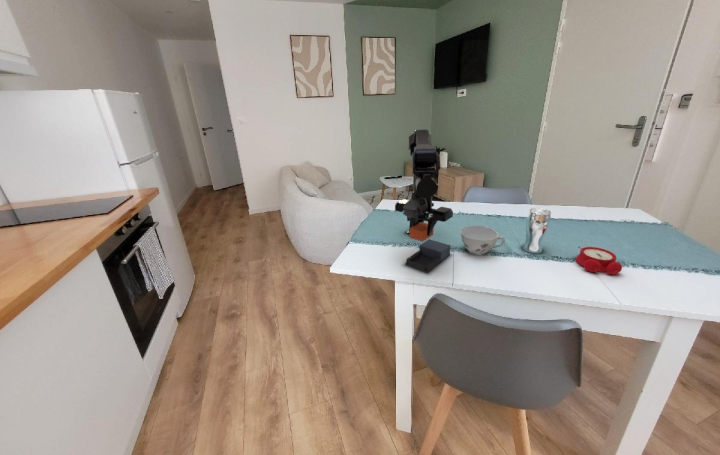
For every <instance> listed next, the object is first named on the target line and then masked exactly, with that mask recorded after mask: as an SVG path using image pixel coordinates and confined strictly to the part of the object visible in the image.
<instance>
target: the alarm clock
mask: <svg viewBox="0 0 720 455" xmlns="http://www.w3.org/2000/svg"><path fill="white" fill-rule="evenodd" d="M577 248H578V249H580V251H579V254H578V255H577V256H576V257H575V261H576V263H577V264H578V265H580V266H581V267H584V270H586V271H587V272H590V273H597V272H599V273H603V274H609V275H618V274H619V273H621V271H622V270H623V266H622V264H621V262H618V261H617V255H616V253H613V252H612V251H609V250H607V249H605V248H601V247H596V246H584V247H581V246H578V247H577Z"/></svg>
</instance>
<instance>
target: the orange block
mask: <svg viewBox="0 0 720 455" xmlns="http://www.w3.org/2000/svg"><path fill="white" fill-rule="evenodd" d="M427 228H428V222H427V223H426V222H424V223H423V222H420V223H419V224H417V225H415V226H413V227H411V228H410V234H409V239H412V240H416V241H419V242H422V243H424V242H425V241H427V240H428V239H430V238H431V237H432V236H433V235H434V229H435V227H434V228H433V230H432V232H431V234H430V235H429V236H428V235H427Z"/></svg>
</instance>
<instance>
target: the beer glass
mask: <svg viewBox="0 0 720 455" xmlns="http://www.w3.org/2000/svg"><path fill="white" fill-rule="evenodd" d="M528 210H529V211H528V214H527V218H526V222H525V223H526V224H525V241H524V244H523V246H522V249H523V250H524V251H525V252H528V253H531V254H540V253H542V252H543V242H544V239H545V237H546V235H547V232H548V230H549V227H550V223H551V218H552V217H551V216H552V212H551V210H549V209H546V208H540V207H533V208H530V209H528Z"/></svg>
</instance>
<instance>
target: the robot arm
mask: <svg viewBox="0 0 720 455" xmlns="http://www.w3.org/2000/svg"><path fill="white" fill-rule="evenodd" d="M407 144H408V145H407V149H408V151H409V154H410V156H411V172H412V175H413V176H412V192H411V197H410V199H405V198H404V199H401V200H399V201H397V202H396V203H395V204H394V211H396V212H399V213H402V214H403V215H404V216H405V217H406V221H407V222H409V227H408V228H409V229H408V230H407V231H406V234H409V235H410V228H411V227H413V226H415V225H417V224H419V223H420V222H423V223H425V222H427V224H428V228H427V235H428V236H429V235H430V234H431V232H432V230H433V231H434V229H435V226H436V224H437V223H438V222H441V223H443V222H447V221H448V220H450V219H452V218H453V217H454V216H453V215H454V211H453V209H452V208H450V207H446V206H440V207H438V208H433V207H434V206H435V203H434V202H433V197H434V196H435V195H436V193H437V191H438V186H437V185H438V184H437V182H436V180H435V178H434V174H439V173H440V170H441V155H440V154H439V152H438V151H437V149H436V147H435V146H434V145H432V135H431V134H430V133H429V129H427V128H426V129H425V128H423V129H415V130H413V133H412V134H411V135H409V136H408V143H407ZM433 228H434V229H433Z"/></svg>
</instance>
